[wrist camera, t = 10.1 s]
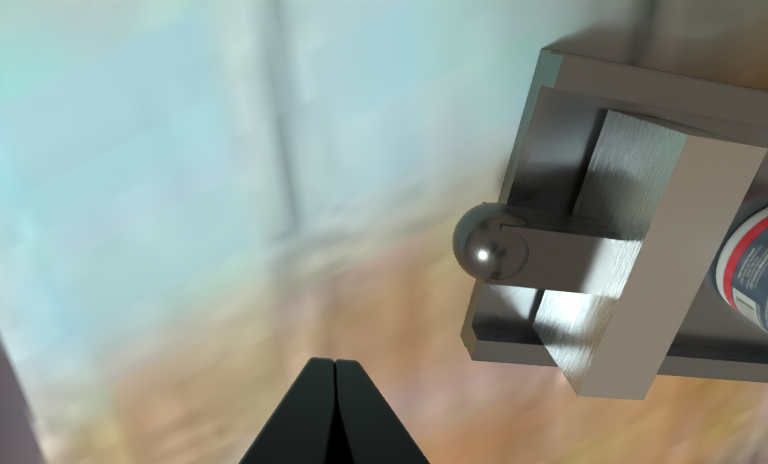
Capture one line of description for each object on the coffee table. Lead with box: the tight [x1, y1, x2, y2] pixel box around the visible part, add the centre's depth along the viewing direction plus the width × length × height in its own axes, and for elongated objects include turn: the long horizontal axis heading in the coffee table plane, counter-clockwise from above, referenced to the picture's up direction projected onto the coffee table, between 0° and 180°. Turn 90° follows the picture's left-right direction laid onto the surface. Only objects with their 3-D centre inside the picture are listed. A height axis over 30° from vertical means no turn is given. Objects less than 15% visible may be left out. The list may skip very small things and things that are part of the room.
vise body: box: [460, 49, 768, 383], centre depth 18 cm, size 12×20×5 cm, turn 80°
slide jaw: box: [453, 110, 768, 400], centre depth 16 cm, size 9×8×4 cm
